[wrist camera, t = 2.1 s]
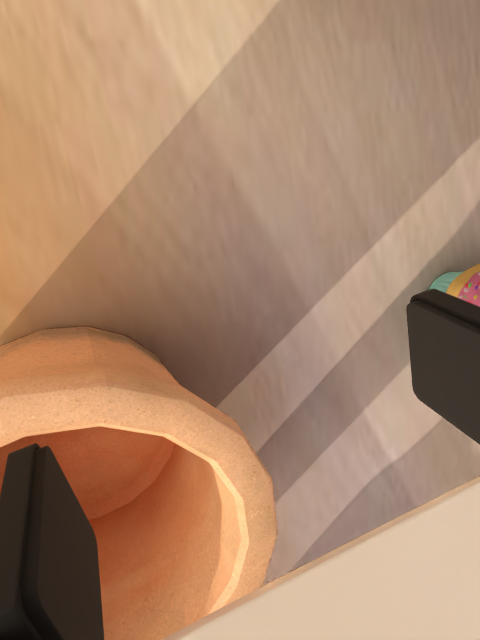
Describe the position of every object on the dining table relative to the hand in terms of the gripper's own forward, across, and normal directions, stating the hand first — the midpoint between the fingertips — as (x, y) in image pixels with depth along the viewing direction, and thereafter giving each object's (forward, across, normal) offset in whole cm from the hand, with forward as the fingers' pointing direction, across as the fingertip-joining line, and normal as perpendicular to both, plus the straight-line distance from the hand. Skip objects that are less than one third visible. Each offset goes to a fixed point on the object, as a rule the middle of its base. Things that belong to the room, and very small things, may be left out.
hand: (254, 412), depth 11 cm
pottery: (+24, +9, +13) cm, 28 cm away
